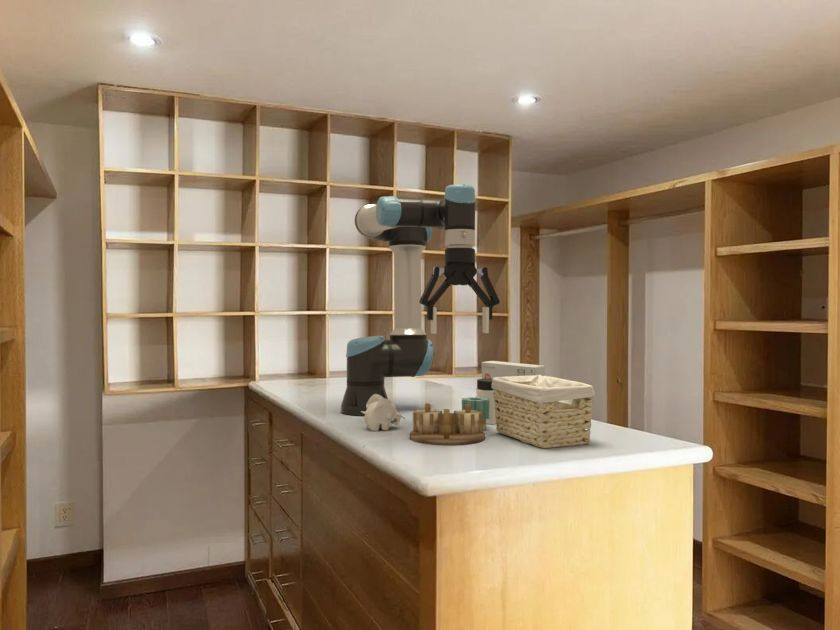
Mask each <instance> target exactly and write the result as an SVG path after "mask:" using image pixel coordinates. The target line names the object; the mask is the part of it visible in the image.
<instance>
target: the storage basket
mask: <svg viewBox="0 0 840 630" xmlns="http://www.w3.org/2000/svg"><path fill="white" fill-rule="evenodd" d="M492 389H493V397H494V404H495V407H494V408H495V418H496V424H495V428H496V432H498V433H500V434H502V435H505V436H508V437H511V438H512V439H517V440H518V441H521V442H523V443H524V444H528V445H529V444H530V445H533V446H535V447H537V448H543V449H551V448H560V447H561V448H562V447H573V446H583V445H586V444H589V443H590V439H591V433H592V432H591V427H592V418H593V400H594V397H595V396H596V394H595V389H594V386H593V385H591V384H587V383H584V382H579V381H575V380H570V379H564V378H559V377H555V376H548V375H545V376H541V375H534V376H510V377H494V378H493V379H492Z"/></svg>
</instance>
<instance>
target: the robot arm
mask: <svg viewBox="0 0 840 630" xmlns="http://www.w3.org/2000/svg"><path fill="white" fill-rule="evenodd" d="M475 191H476V190H475V187H474V186H473V185H471V184H464V183H461V184H460V183H456V184H455V183H454V184H449V185H447V186H446V187H445V191H444V197H443V198H433V197H432V198H429V197H408V196H407V197H406V196H405V197H403V196H395V195H389V196H380V197H379V198H378V200H377V201H376V202H377V203H371V204H365V205H363V206H362V207H361V208H359V209H358V210H357V212H356V213H355V216H354V225H355V229H356V230H357V232H358V233H359V234H360V235H361V236H363V237H364V238H366V239H369V240H372V241H377V242H388V249H389V250H390V251H391V252H393V286H394V287H393V300H394V301H393V304H394V305H393V308H394V309H393V311H394V313H393V314H394V315H393V316H394V327H393V328H394V329H393V330H392V331H391V332H390V333H389V339H386V338H385V336H384V335H369V336H364V337H363V336H362V337H357V338H352V339H351V340H349V341H348V342H347V345H346V355H345V357H346V389H345V391H344V395H343V399H342V402H341V404H340V412H341V414H345V415H350V416H365V414H364V413H362V412H361V411H365V412H366V410H367V407H366V404H367V402H368V400H369V399H370V397H371V396H372V395H374V394H378V395H381V396H382V397H383V398H386V399H388V400H389V398H388V397H389V396H388V395H387V392H386V387H385V378H400V377H401V378H404V377H405V378H406V377H407V378H410V377H411V378H414V377H421V376H425V375H427V373H428V372H429V371H430V369H431V366H432V364H433V357H434V347H433V342H432V341H431V339H429V338H427V333H426V331H425V330H424V329H422V328H423V327H422V325H423V323H422V322H423V321H422V305H423V306H425V307H426V320H427V321H430V334H434V335H437V327H438V326H437V325H438V324H437V322H438V321H437V309H438V308H437V307H436V306H434V305H435V304H436V303H437V302H438V301H439V299H440V298H441V297H442V296H443V295H444V293H445V292H446V291H447V290H448V288H450V287H451V286H459V285H460V286H469V287H470V288H471V289H472V292H474V293H475V294H476V296H477V297H478V299H480V301H481V302H482V304H483V305H484V306H482V307H481V308H482V309H481V310H482V313H481V316H482V318H481V319H482V322H481V323H482V327H481V328H482V329H481V330H482V334H489V333H490V320H492V319H493V308H494V306H496V305H499V304H500V302H501V301H500V299H499V297H498V293H496V290H495V288H494V286H493V283H492V282H491V279H490V277H489V272H488V267H479V268H476V249H475V248H474V247H475V246H476V202H477V200H476V192H475ZM433 228H434V229H436V230H444V246H445V247H446V248H445V250H444V267H439V266H434V267H432V269H431V276H430V278H429V281H428V282H427V284H426V287H425V289H424V291H423V292H422V253H423V251H424V250H425V249H426V244H427V243H430V242H431V239H432V233H433ZM442 274H443V275H444V277H445V279H444V280H443V282H442V283H441V285H440V286H439V287H438V288H437V290H436V291H435V293H434V294H433V295H432V296H431V294H432V291H433V290H434V288H435V286H436V283H437V282H438V279H439V278H440V277H442ZM476 275H477V276H478V277H480V280H481V283H482V284H483V287H484V288H485V291H486V293H485V291H484V290H483V289H482V288H481V286H480V285H479V284H478V282H477V280H476V279H475V276H476ZM430 296H431V297H430Z"/></svg>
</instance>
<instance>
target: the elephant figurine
mask: <svg viewBox="0 0 840 630" xmlns="http://www.w3.org/2000/svg"><path fill="white" fill-rule="evenodd" d="M366 407H367V410H366V412H365V411H361V412H362V413H364V414H365V415H364V423H365V426H366V427H367V428H368V429H370V431H371V432H378V431H379V429H380V428H381V430H382V431H388V430H389V428H390V424H393V425H395V426H398V425H399V424H400V422H401V418H402V419H403V420H405V421H407V420H406V419H407V418H405V417H404V416H403V415H401V414H400V413H399V412H398V409H397V407H396V405H395V404H394V403H392V401H391V400H390V399H389V398H388V399H386V398H383V397H382V396H381V395H378V394H374V395H372V396H371V397H370V399H369V400H368V402H367V404H366Z"/></svg>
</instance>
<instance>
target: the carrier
mask: <svg viewBox="0 0 840 630" xmlns="http://www.w3.org/2000/svg"><path fill="white" fill-rule="evenodd" d="M409 439H410V440H411V441H413V442H414V443H419V444H425V445H433V446H465V445H472V444H477V443H481V442H483V441H485V440H486V433H485V431H484V430H483V412H482V411H476V410H471V404H465V410H462V409H460V410H453V412H450V409H449V408H444V409H443V411H442V410H439V409H431V403H425V404H424V409H417V410H414V411H412V430H411V431H410V432H409Z"/></svg>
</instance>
